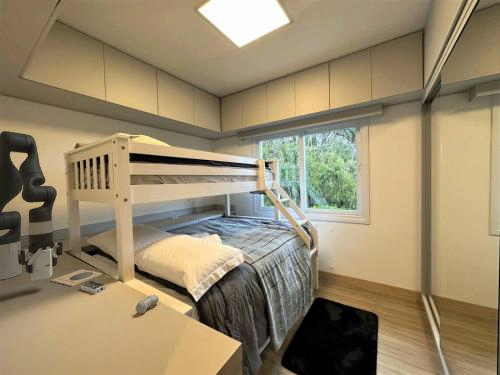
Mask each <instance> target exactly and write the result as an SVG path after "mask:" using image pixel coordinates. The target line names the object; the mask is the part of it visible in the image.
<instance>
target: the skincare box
mask: <svg viewBox="0 0 500 375" xmlns="http://www.w3.org/2000/svg"><path fill="white" fill-rule="evenodd" d="M51 249H52V250H53V249H54V247H53V248H51ZM51 249H48V250H42V251H41V252H40V253H39V254H38V256H37V257H36V259H34V261H33V262H32V268H33V273H31V274H30V281H31V282H33V281H37V280H43V279H48V278H49V279H50V278H51V276H53V266H52V257H53V256H52V254H51ZM53 251H54V250H53ZM32 256H33V254H32V253H31V257H32Z"/></svg>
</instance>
